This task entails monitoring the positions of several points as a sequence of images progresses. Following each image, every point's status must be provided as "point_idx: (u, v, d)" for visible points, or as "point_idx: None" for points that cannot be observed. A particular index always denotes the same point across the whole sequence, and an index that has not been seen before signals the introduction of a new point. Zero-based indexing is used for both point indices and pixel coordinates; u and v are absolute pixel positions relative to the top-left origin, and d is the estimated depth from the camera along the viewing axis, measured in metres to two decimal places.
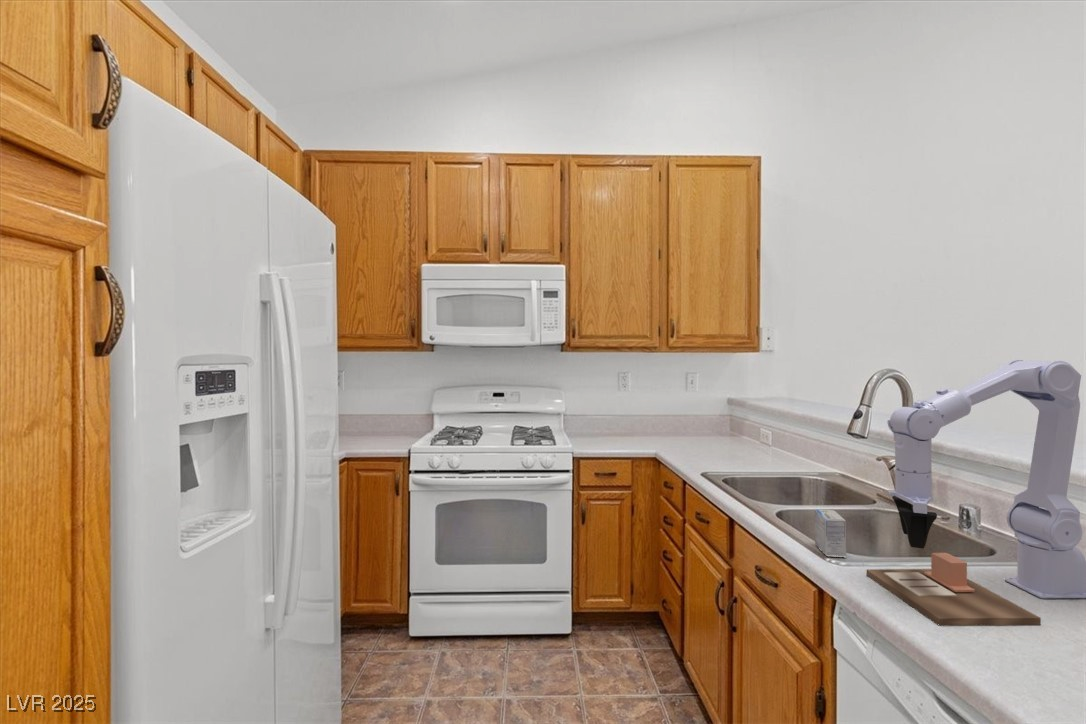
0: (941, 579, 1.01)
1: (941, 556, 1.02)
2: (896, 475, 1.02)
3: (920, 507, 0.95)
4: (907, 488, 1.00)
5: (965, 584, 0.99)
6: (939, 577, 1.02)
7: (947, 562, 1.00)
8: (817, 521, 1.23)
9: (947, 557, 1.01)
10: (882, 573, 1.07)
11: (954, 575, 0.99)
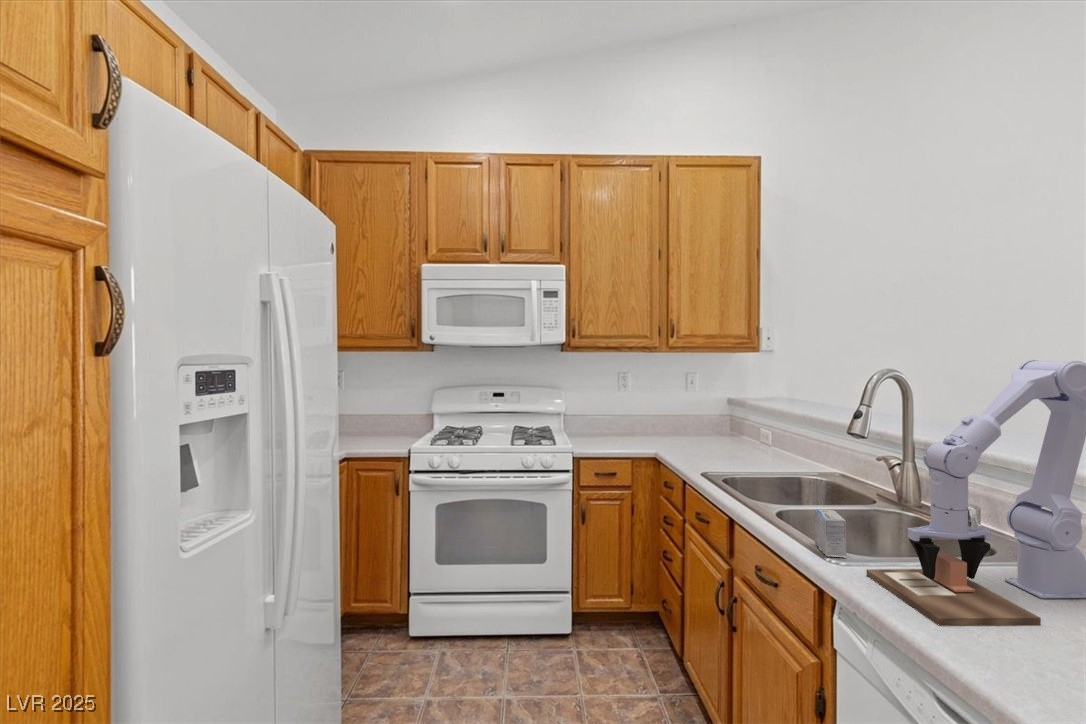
0: (941, 579, 1.01)
1: (941, 556, 1.02)
2: None
3: (911, 533, 1.01)
4: None
5: (965, 584, 0.99)
6: (939, 577, 1.02)
7: (947, 562, 1.00)
8: (817, 521, 1.23)
9: (947, 557, 1.01)
10: (882, 573, 1.07)
11: (954, 575, 0.99)
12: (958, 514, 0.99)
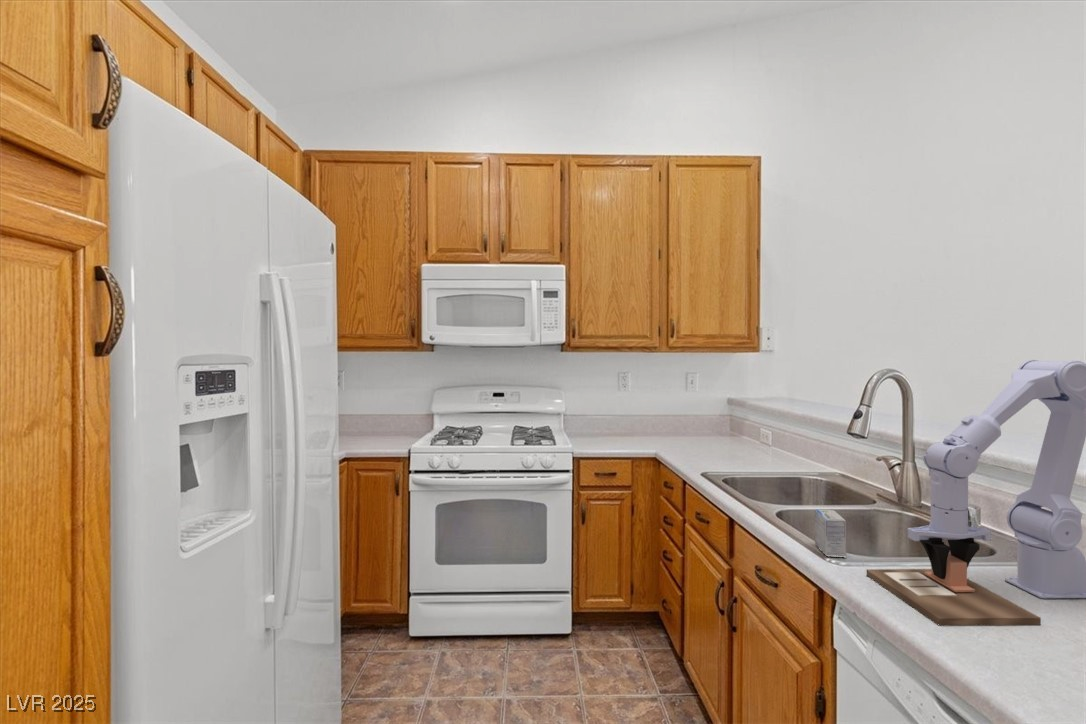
0: (941, 579, 1.01)
1: None
2: None
3: (911, 533, 1.01)
4: None
5: (965, 584, 0.99)
6: None
7: (947, 562, 1.00)
8: (817, 521, 1.23)
9: (947, 557, 1.01)
10: (882, 573, 1.07)
11: (954, 575, 0.99)
12: (958, 514, 0.99)
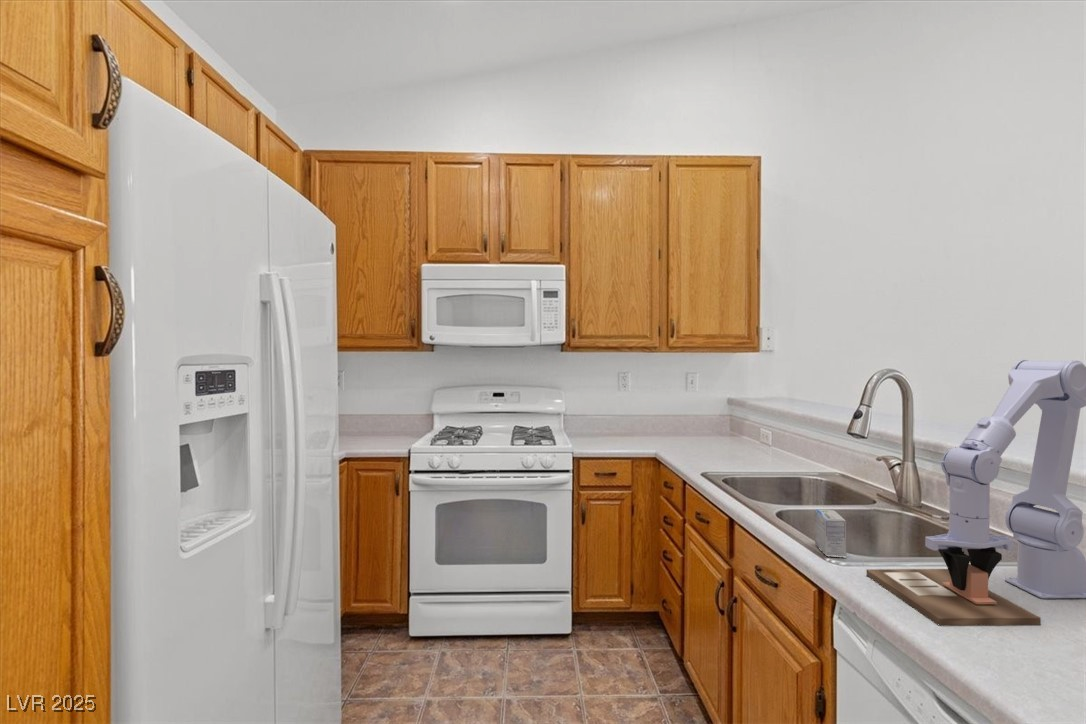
0: (960, 590, 0.97)
1: None
2: None
3: (929, 542, 0.97)
4: (949, 528, 0.98)
5: (986, 596, 0.94)
6: None
7: (967, 572, 0.95)
8: (817, 521, 1.23)
9: None
10: (882, 573, 1.07)
11: (975, 586, 0.94)
12: (979, 522, 0.94)
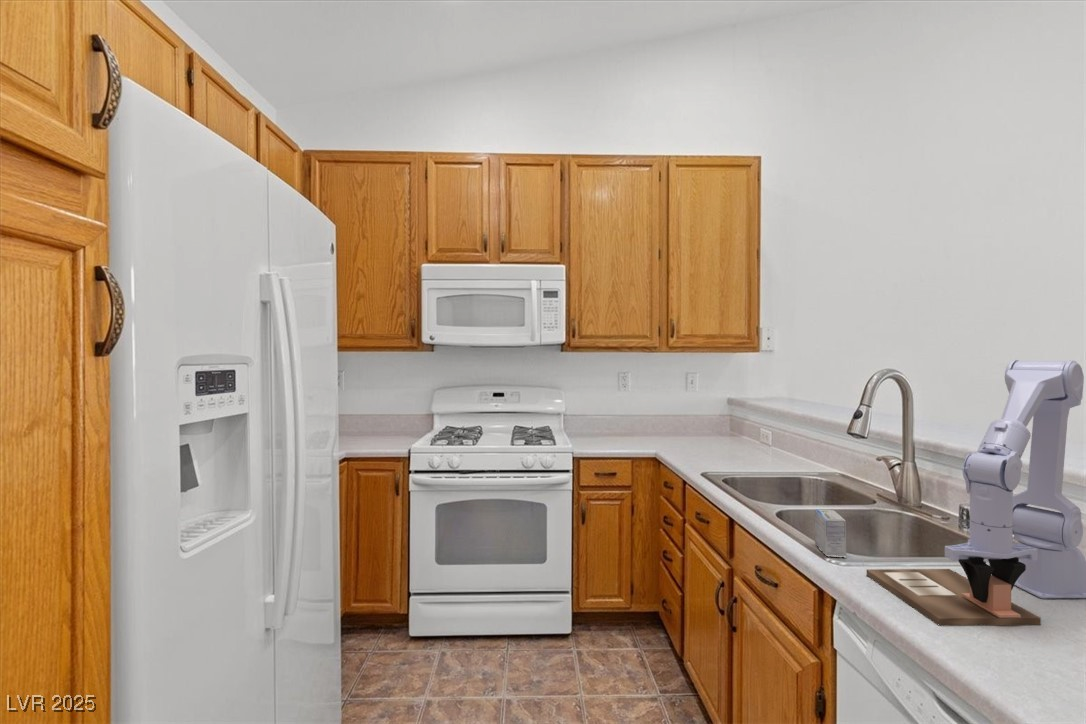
0: None
1: None
2: None
3: (948, 552, 0.92)
4: (970, 537, 0.93)
5: (1009, 608, 0.90)
6: None
7: (989, 584, 0.90)
8: (817, 521, 1.23)
9: None
10: (882, 573, 1.07)
11: (997, 598, 0.90)
12: (1002, 531, 0.89)
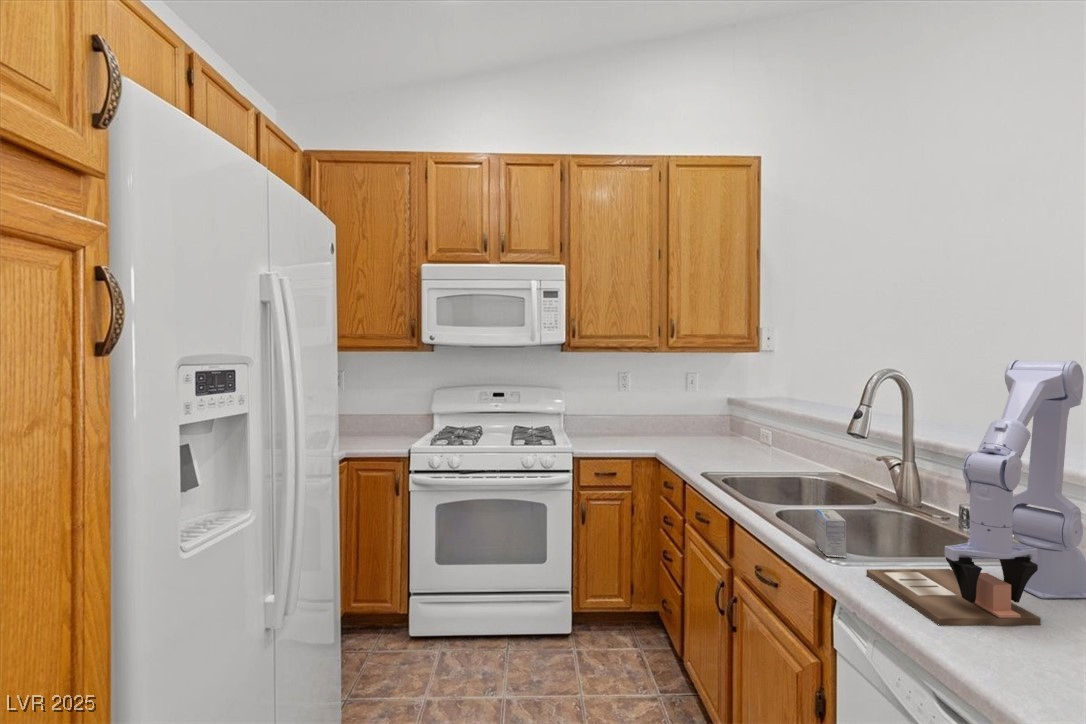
0: (982, 602, 0.92)
1: (981, 577, 0.93)
2: None
3: (948, 552, 0.92)
4: (970, 537, 0.93)
5: (1009, 608, 0.90)
6: (979, 600, 0.92)
7: (989, 584, 0.90)
8: (817, 521, 1.23)
9: (988, 579, 0.92)
10: (882, 573, 1.07)
11: (997, 598, 0.90)
12: (1002, 531, 0.89)
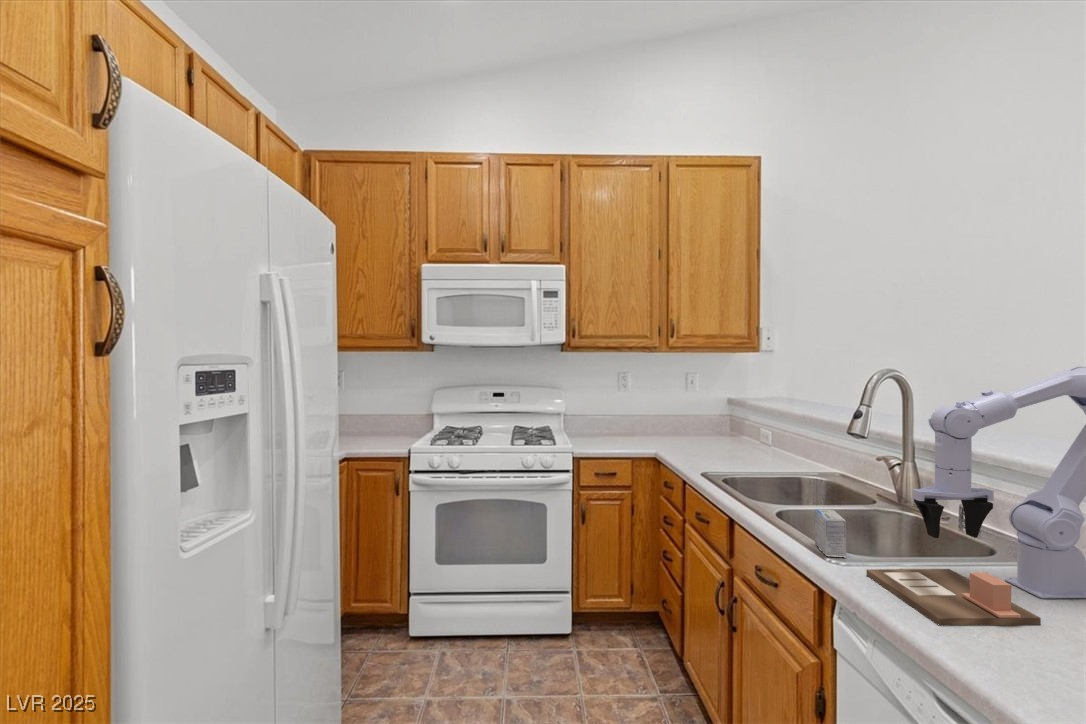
0: (982, 602, 0.92)
1: (981, 577, 0.93)
2: None
3: (916, 494, 1.04)
4: (935, 481, 1.05)
5: (1009, 608, 0.90)
6: (979, 600, 0.92)
7: (989, 584, 0.90)
8: (817, 521, 1.23)
9: (988, 579, 0.92)
10: (882, 573, 1.07)
11: (997, 598, 0.90)
12: (962, 474, 1.01)
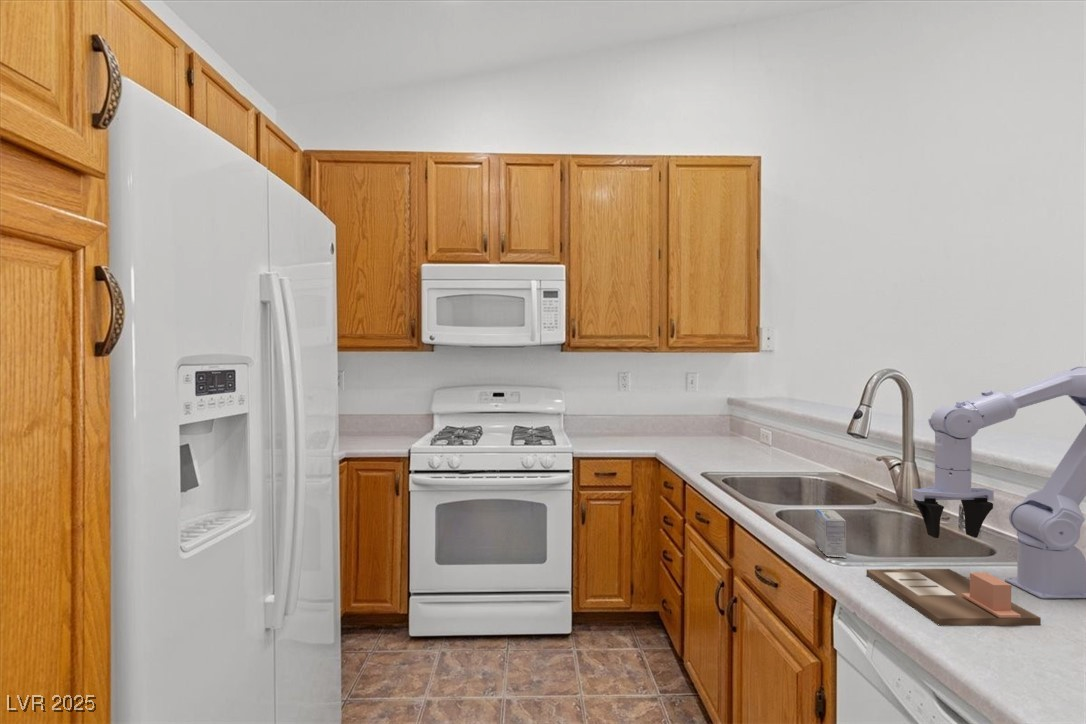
0: (982, 602, 0.92)
1: (981, 577, 0.93)
2: None
3: (916, 494, 1.04)
4: (935, 481, 1.05)
5: (1009, 608, 0.90)
6: (979, 600, 0.92)
7: (989, 584, 0.90)
8: (817, 521, 1.23)
9: (988, 579, 0.92)
10: (882, 573, 1.07)
11: (997, 598, 0.90)
12: (962, 474, 1.01)
